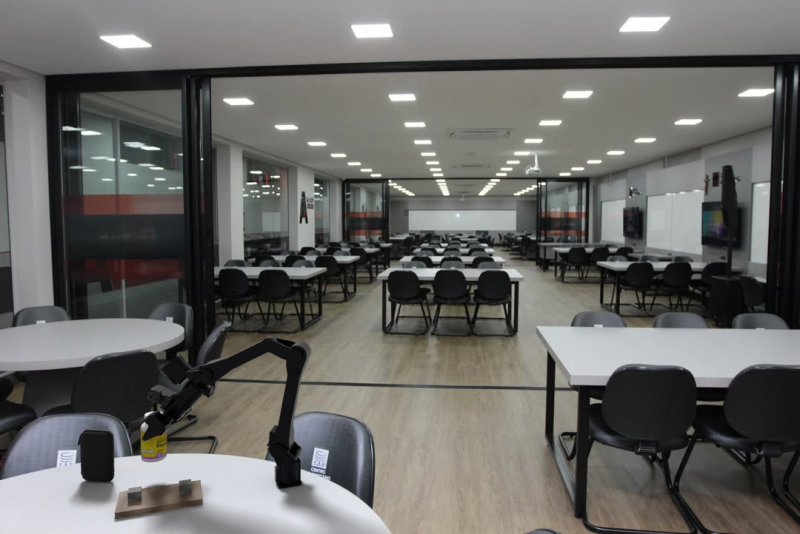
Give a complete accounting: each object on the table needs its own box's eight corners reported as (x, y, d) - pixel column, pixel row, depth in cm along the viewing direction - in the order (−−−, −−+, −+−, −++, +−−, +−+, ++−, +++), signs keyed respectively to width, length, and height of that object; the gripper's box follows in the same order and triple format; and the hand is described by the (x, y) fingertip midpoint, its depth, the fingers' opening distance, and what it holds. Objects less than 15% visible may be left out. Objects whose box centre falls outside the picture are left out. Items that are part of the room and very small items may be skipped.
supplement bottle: (157, 464, 149) (156, 418, 148) (135, 462, 150) (134, 416, 150) (172, 455, 155) (171, 410, 155) (151, 453, 157) (150, 409, 156)
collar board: (200, 485, 150) (200, 471, 150) (202, 504, 139) (202, 489, 139) (119, 497, 143) (119, 482, 142) (114, 519, 132) (114, 502, 131)
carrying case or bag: (74, 482, 151) (74, 430, 151) (82, 478, 154) (81, 426, 154) (110, 485, 150) (109, 432, 149) (117, 480, 153) (116, 428, 152)
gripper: (180, 368, 161) (144, 405, 162) (150, 385, 142) (110, 426, 143) (207, 395, 161) (171, 431, 162) (181, 415, 143) (140, 456, 143)
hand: (149, 435), depth 153 cm, fingers closed on supplement bottle, 7 cm apart
